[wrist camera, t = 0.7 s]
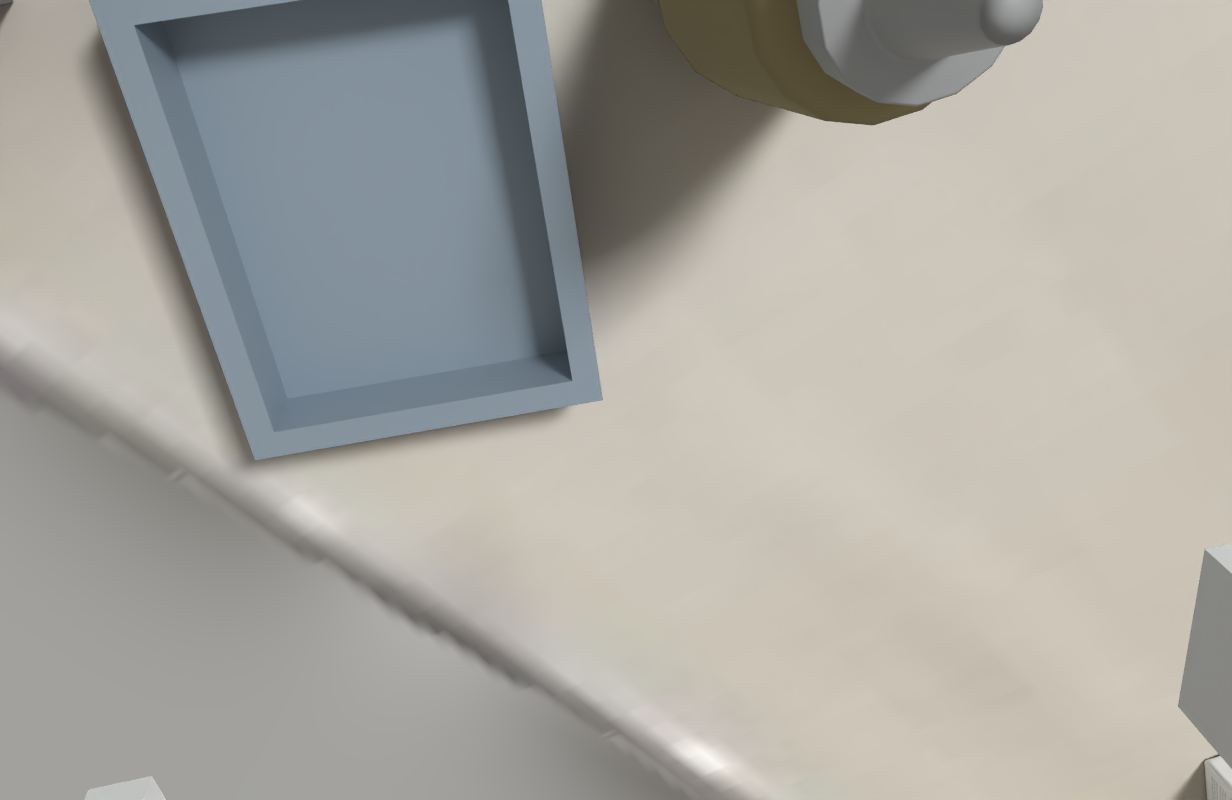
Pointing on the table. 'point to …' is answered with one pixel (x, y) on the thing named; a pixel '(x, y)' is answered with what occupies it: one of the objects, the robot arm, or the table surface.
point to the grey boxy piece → (5, 1)
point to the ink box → (1218, 779)
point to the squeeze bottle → (846, 50)
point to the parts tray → (364, 207)
